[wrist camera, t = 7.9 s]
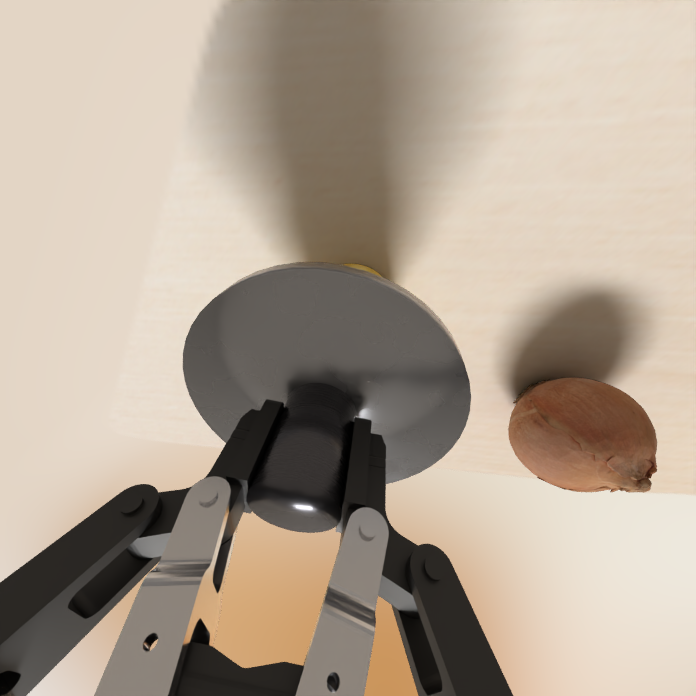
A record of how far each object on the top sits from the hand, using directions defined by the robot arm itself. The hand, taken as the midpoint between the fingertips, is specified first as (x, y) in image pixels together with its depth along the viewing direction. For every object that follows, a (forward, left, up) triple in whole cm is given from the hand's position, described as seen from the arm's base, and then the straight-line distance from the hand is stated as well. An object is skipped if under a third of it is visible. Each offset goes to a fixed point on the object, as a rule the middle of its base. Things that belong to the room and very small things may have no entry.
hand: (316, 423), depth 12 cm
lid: (0, 0, -2) cm, 2 cm away
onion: (-20, +6, -14) cm, 25 cm away
